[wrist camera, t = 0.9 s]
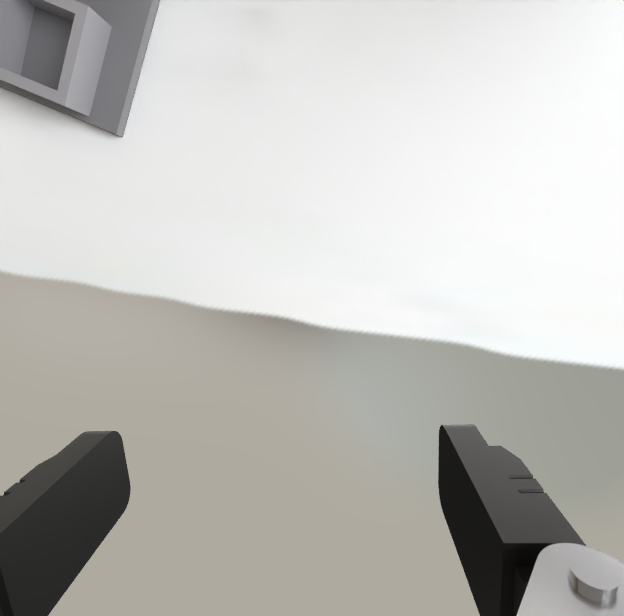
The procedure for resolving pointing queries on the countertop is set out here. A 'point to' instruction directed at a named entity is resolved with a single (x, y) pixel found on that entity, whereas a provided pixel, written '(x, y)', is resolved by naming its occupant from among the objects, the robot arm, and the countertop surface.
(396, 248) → the countertop surface
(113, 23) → the grey boxy piece
